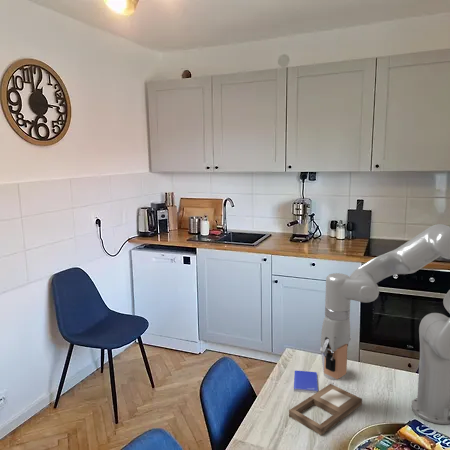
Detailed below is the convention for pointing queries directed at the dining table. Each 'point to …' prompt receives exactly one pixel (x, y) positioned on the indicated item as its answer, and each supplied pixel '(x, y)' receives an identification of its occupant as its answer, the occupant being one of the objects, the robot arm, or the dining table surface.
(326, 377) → the dixie cup
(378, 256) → the robot arm
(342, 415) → the socket board
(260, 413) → the dining table surface
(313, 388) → the hard drive
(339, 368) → the block
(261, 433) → the dining table surface
